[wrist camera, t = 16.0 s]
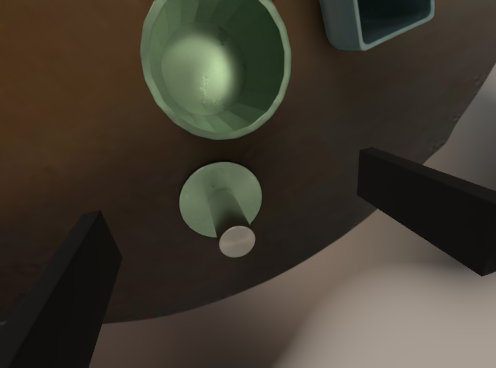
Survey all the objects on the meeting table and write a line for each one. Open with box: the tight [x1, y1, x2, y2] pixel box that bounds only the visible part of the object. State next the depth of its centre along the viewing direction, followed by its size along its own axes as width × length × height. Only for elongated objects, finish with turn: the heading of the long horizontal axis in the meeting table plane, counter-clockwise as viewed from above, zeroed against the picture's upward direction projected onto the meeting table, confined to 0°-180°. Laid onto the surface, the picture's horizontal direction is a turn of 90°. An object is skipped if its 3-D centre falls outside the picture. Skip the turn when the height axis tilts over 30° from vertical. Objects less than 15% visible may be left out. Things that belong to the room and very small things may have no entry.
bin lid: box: [179, 161, 262, 257], centre depth 31 cm, size 12×12×11 cm
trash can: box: [140, 0, 291, 140], centre depth 24 cm, size 11×11×13 cm
